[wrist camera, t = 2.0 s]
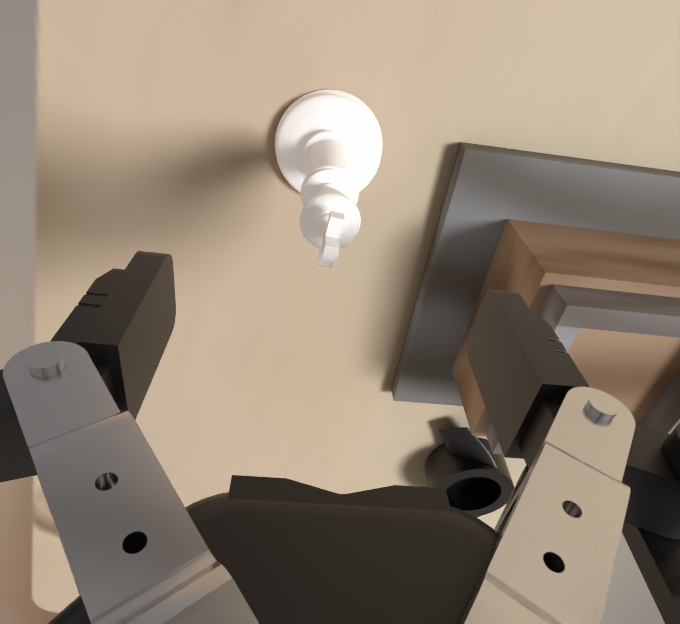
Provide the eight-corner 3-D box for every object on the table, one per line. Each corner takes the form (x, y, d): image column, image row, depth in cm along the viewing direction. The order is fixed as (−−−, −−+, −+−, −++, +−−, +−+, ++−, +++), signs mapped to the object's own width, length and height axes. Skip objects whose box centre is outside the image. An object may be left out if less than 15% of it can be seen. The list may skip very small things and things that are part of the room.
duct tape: (392, 490, 39) (396, 524, 36) (442, 406, 33) (450, 440, 31) (480, 504, 40) (489, 538, 38) (542, 425, 34) (557, 459, 32)
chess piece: (267, 185, 23) (236, 304, 15) (285, 76, 21) (260, 151, 12) (365, 207, 24) (386, 331, 16) (396, 105, 21) (439, 194, 13)
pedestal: (460, 142, 22) (511, 210, 16) (773, 184, 24) (925, 261, 18) (391, 389, 32) (407, 491, 26) (620, 407, 33) (686, 507, 27)
